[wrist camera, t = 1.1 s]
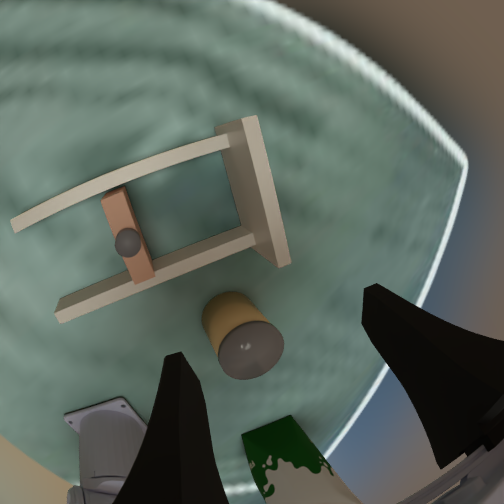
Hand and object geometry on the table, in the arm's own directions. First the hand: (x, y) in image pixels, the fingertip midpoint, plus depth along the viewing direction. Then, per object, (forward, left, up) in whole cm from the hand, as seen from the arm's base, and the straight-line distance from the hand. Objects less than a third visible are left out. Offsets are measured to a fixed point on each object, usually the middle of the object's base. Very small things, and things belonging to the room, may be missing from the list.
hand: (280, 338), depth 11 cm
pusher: (+3, +5, -15) cm, 16 cm away
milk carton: (-30, +1, -15) cm, 34 cm away
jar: (-8, 0, -15) cm, 17 cm away
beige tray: (+3, +5, -15) cm, 16 cm away
